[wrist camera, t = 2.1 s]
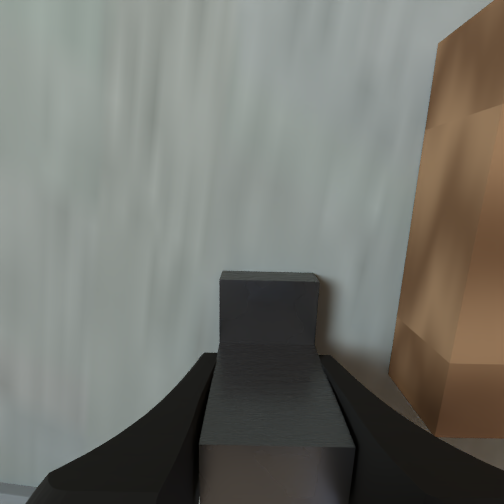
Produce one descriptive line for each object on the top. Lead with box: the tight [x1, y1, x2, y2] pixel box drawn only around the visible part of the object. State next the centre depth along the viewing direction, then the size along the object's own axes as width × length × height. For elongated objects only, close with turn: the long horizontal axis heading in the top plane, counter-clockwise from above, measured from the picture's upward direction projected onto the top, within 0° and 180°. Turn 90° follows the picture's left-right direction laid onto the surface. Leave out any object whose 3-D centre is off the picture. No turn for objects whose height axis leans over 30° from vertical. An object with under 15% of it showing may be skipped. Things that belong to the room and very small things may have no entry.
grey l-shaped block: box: [199, 271, 356, 504], centre depth 10 cm, size 5×4×6 cm
